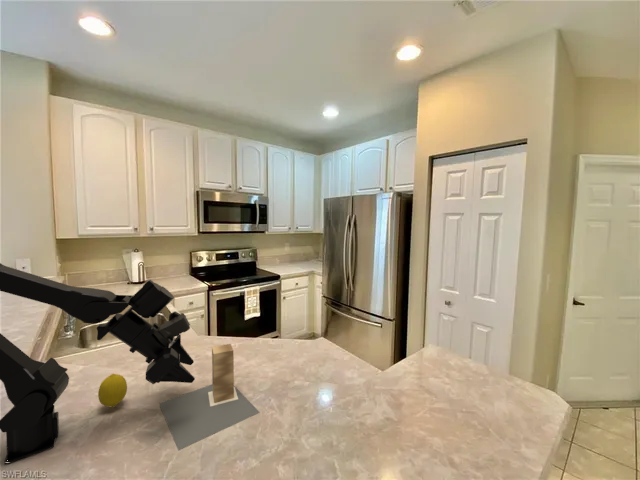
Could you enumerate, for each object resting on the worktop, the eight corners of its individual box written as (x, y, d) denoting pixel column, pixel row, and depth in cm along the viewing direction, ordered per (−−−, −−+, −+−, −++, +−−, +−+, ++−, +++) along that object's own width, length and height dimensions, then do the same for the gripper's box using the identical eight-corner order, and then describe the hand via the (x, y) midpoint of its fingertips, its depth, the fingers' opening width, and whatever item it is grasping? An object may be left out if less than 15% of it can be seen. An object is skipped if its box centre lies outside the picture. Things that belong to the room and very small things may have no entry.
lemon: (93, 410, 65) (93, 376, 65) (120, 397, 70) (119, 366, 70) (106, 417, 62) (105, 382, 62) (132, 403, 67) (131, 371, 67)
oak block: (214, 403, 66) (213, 354, 66) (212, 393, 71) (211, 347, 70) (234, 398, 68) (233, 350, 68) (231, 388, 73) (230, 343, 72)
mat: (178, 453, 52) (178, 450, 52) (159, 405, 67) (159, 402, 67) (259, 414, 63) (259, 412, 63) (227, 380, 78) (227, 378, 78)
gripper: (164, 316, 55) (222, 359, 60) (169, 296, 72) (214, 332, 77) (116, 362, 52) (182, 404, 57) (133, 331, 69) (183, 365, 74)
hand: (192, 371), depth 66 cm, fingers open, 9 cm apart
